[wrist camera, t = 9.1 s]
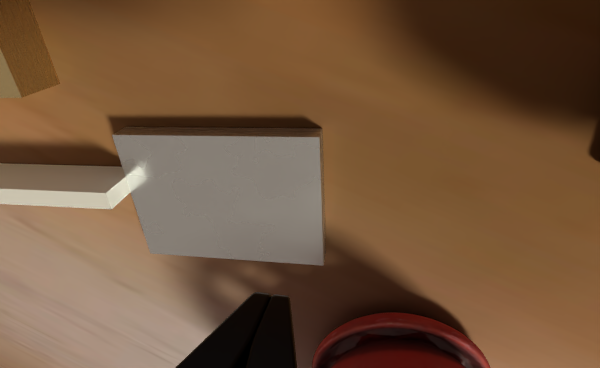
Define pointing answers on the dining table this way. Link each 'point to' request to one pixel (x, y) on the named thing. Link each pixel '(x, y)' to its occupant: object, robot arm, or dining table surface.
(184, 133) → the plate
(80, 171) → the tray
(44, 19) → the dining table surface
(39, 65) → the tan block
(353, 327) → the plant pot
